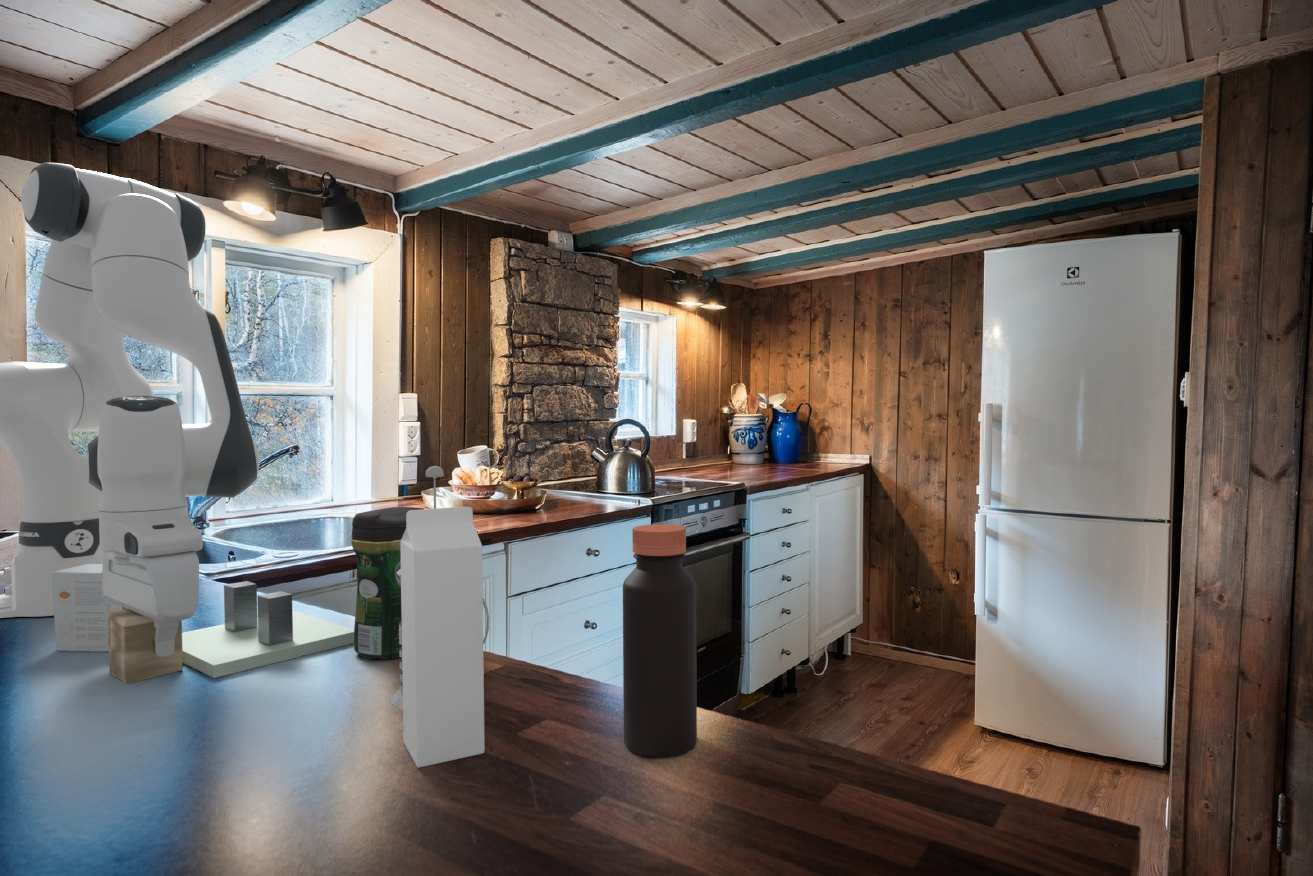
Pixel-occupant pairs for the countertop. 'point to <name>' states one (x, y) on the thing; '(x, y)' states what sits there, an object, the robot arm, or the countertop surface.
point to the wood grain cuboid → (138, 648)
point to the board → (258, 645)
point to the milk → (442, 636)
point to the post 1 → (240, 606)
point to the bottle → (659, 646)
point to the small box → (81, 609)
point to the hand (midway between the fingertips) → (148, 647)
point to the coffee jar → (378, 581)
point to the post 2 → (275, 618)
